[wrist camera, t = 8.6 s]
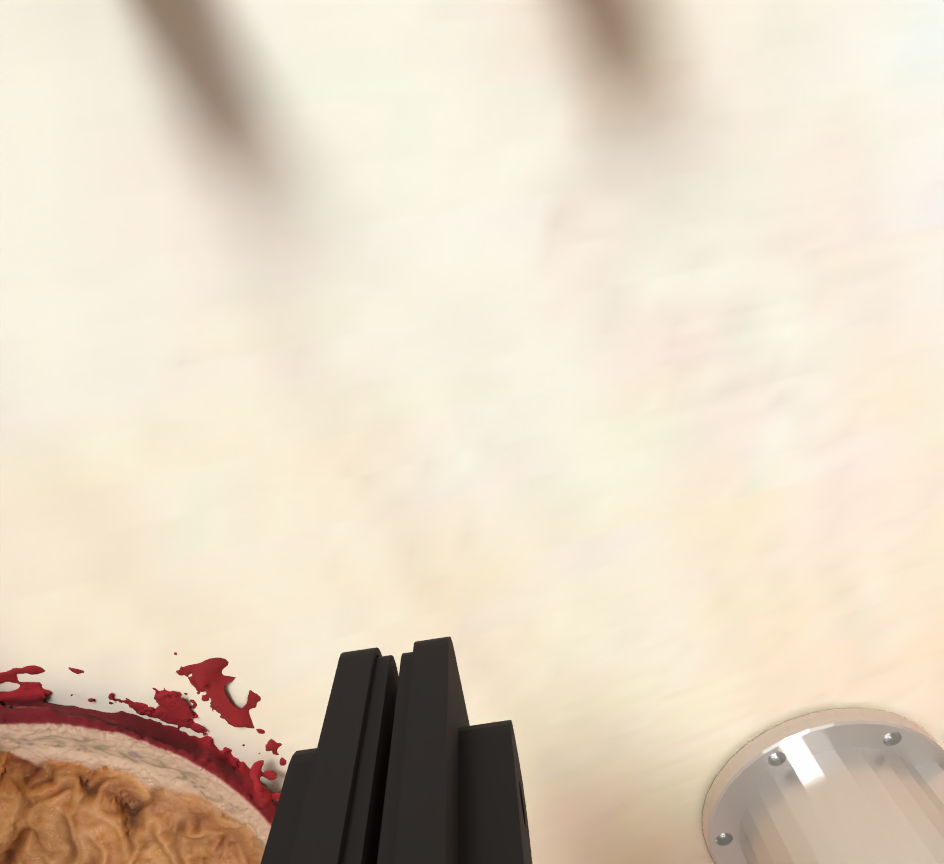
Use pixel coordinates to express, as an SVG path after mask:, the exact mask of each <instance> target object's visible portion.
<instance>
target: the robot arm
mask: <svg viewBox="0 0 944 864" xmlns="http://www.w3.org/2000/svg"><path fill="white" fill-rule="evenodd" d="M702 827H703V834H704V837H705V840H706V844H707V847H708V849H709V852H710V854H711V856H712V858H713V861H714V863H715V864H944V751H943V749H942V748H941V747H940V746H939V744H938V743H937V742H936V740H935V739H934V738H933V737H931V736H930V735H929V734H928V733H927V732H926V731H925V730H924V729H923V728H922V727H920V726H919V725H917V724H915V723H914V722H912V721H910V720H908V719H907V718H905V717H902V716H899V715H896V714H893V713H890V712H886V711H881V710H874V709H867V708H839V709H831V710H826V711H820V712H814V713H810V714H807V715H804V716H801V717H798V718H795V719H791V720H788V721H786V722H784V723H782V724H780V725H778V726H776V727H774V728H772V729H770V730H768V731H766V732H764V733H763V734H761V735H760V736H758V737H757V738H755V739H754V740H752V741H751V742H749V743H748V744H746V745H745V746H744V747H743V748H742V749H741V750H740V751H739V752H737V753H736V754H735V755H734V756H733V757H732V758H731V759H730V760H729V761H728V762H727V763H726V765H725V766H724V767H723V769H722V770H721V771H720V773H719V774H718V775H717V777H716V778H715V780H714V782H713V784H712V786H711V788H710V790H709V792H708V794H707V796H706V800H705V804H704V808H703V813H702ZM261 864H532V857H531V847H530V838H529V829H528V820H527V812H526V804H525V796H524V789H523V782H522V776H521V769H520V763H519V758H518V752H517V746H516V741H515V735H514V730H513V725H512V721H511V720H507V721H500V722H493V723H487V724H480V725H473V726H470V725H469V720H468V715H467V710H466V705H465V701H464V696H463V691H462V686H461V681H460V676H459V671H458V667H457V662H456V657H455V652H454V647H453V643H452V640H451V637H444V638H437V639H430V640H424V641H417V642H415V643H414V648H413V652H409V653H403V654H402V656H401V663H400V672H399V675H398V671H397V667H396V663H395V660H394V657H393V656H392V655H389V656H383V657H382V655H381V652H380V650H379V648H370V649H364V650H357V651H350V652H344V653H342V654H341V655H340V658H339V661H338V666H337V670H336V674H335V678H334V682H333V686H332V690H331V694H330V698H329V702H328V706H327V710H326V714H325V718H324V723H323V727H322V731H321V735H320V739H319V743H318V747H317V748H314V749H307V750H301V751H296V752H295V753H294V755H293V756H292V758H291V761H290V763H289V766H288V769H287V773H286V776H285V780H284V783H283V787H282V790H281V794H280V797H279V801H278V804H277V808H276V811H275V815H274V818H273V822H272V825H271V829H270V832H269V836H268V839H267V843H266V846H265V850H264V853H263V857H262V860H261Z"/></svg>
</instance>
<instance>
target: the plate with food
mask: <svg viewBox="0 0 944 864" xmlns="http://www.w3.org/2000/svg"><path fill="white" fill-rule="evenodd" d="M174 654H175V655H176V654H177V653H174ZM227 665H228V661H227V660H226V659H223V658H211V659H208V660H205V661H203V662H201V663H198V664H193V665H188V666H185V667H181V668H180V670H177V671H176V672H177V673H178V674H179V675H185V676H187V677H188V675H189V674H191V673H192V676H191V677H188V679H189V681H190V682H191V684H192V685H193V686H194V687H195V688H196V690H197V691H198V692H197V694H200V692H204V691H206V693H207V694H206V695H202V700H203V701H208V700H209V698H211V703H210V704H211V706H210V707H211V708H212V711H213V710H216V711H217V712H218V713H220V714H221V716H220V717H221V718H223V719H225V720H226V721H227V722H228V723H229V724H230V725H232V726H234V727H247V728H254V726H253V723H252V720H251V718H250V715H249V710H250V709H251V708H255V707H256V705H257V702H259V701H260V700H261V698H260V696H258V695H257V694H256V693H254V692H252V691H251V690H250V692H249V695H248V701H247V704H246V705H245V706H244V707H243V708H241V709H239V708H237V707H235V706H234V705H232V704H231V703H230V701H229V699H228V698H227V696H226V694H225V692H224V688H225V685H226V684H227V683H229V682H231V681H232V680H233V679H234V678H236V677H230V676H224V675H223V674H222V669H223V668H225V667H226V666H227ZM69 669H70V670H71V671H72V672H74V673H76V674H79V673H84V671H82V670H79V669H74V668H69ZM43 672H45V670H44V669H43V668H41V667H38V666H26V667H23V668H13V669H11V670H10V671H7V672H3V673H0V684H1V683H3V682H13V683H18V684H20V688H18V689H17V690H14V691H11V692H0V864H261V860H262V857H263V853H264V850H265V846H266V843H267V839H268V836H269V832H270V829H271V825H272V822H273V818H274V815H275V811H276V808H277V804H276V803H274V802H273V801H272V800H276V801H277V802H278V801H279V797H280V794H281V793H280V792H278V793H271V792H269V790H268V789H267V788H265V787H264V786H263V785H262V784H261V782H260V777H261V776H264V777H265V778H267V779H269V780H274V779H276V776H277V774H276V773H275V772H273V771H265V772H262V771H261V768H262V766H263V763H264V760H260V761H257V762H255V763H254V764H253V766H252V768H251V769H249V768H248V767H247V766H246V765H245V763H244V762H240V761H239V759H237V758H235V757H233V756H232V754H231V751H232V750H230V749H229V748H226V747H225V748H224V749H223V751H220V750H219V749H218V748H217V747H216V746H215V745H214V743H213V742H212V741H213V739H212V738H211V737H209V736H205V735H206V733H204V731H205V732H207V730H206V729H205V728H204V727H202V726H200V724H197V723H194V721H193V719H191V717H192V718H197V717H198V715H197V714H196V713H195V712H193V711H191V707H192V708H194V709H195V708H196V706H197V704H196V703H195V701H194V700H190V702H192V703H193V706H191V707H190V706H189V704H188V703H187V702H185V700H186V699H184V698H181V695H182V694H181V693H180V692H176V691H171V692H169V691H167V690H165V688H164V690H163V691H158V690H157V689H156V688H153V690H155V691H156V694H155V697H154V699H155V700H156V702H157V703H158V705H159V706H158V707H157V708H156V709H155V708H153V707H148V705H146V704H143V703H138V702H133V701H131V700H129V699H127V698H126V700H124V701H123V700H120V699H115V698H114V694H113V693H111V694H110V695H109V699H110V700H114V701H119V702H121V703H122V702H124V703H126V704H129V707H131V708H133V709H134V710H135V711H136V712H137V713H138V714H140V715H147V716H148V717H153V718H159V719H160V720H161V721H164V722H166V723H168V724H175V725H178V728H176V727H173V726H169V725H168V726H167V725H162V724H161V723H160V722H156V721H153V720H151V719H144V718H142V717H139V716H137V715H134V714H129V713H126V712H124V711H120V712H117V713H106V712H101V711H97V710H91V709H83V708H79V707H76V706H63V705H56V704H52V703H46V702H43V701H42V700H44V699H45V696H47V695H50V694H51V691H50V690H45V689H43V688H42V684H41V683H39V682H19V681H18V678H17V674H23V673H28V674H31V675H33V674H39V673H43ZM184 694H185V695H187V693H184ZM71 696H72V694H71ZM88 701H89V702H92V701H95V699H88ZM109 704H113V703H112V702H109ZM180 727H186V728H189V727H190V728H191V729H192V730H194V731H195V732H197V733H203V735H204V736H205V737H203V738H198V737H196V736H189V735H188V734H187V733H186V732H181V731H180V730H179V728H180ZM256 730H257V732H258V733H260V734H264V733H265V731H264V730H262V729H256ZM281 745H282V744H281V743H276V742H275V741H274V740H272V739H271V740H269V742H268V743H267V745H266V751H272V752H273V754H275V755H279V754H278V753H277V749H278V748H279V747H280V746H281ZM242 746H245V745H244V744H243V745H242ZM259 754H260V753H259ZM285 764H286V760H285V759H284V758H281V759H280V765H285Z"/></svg>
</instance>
